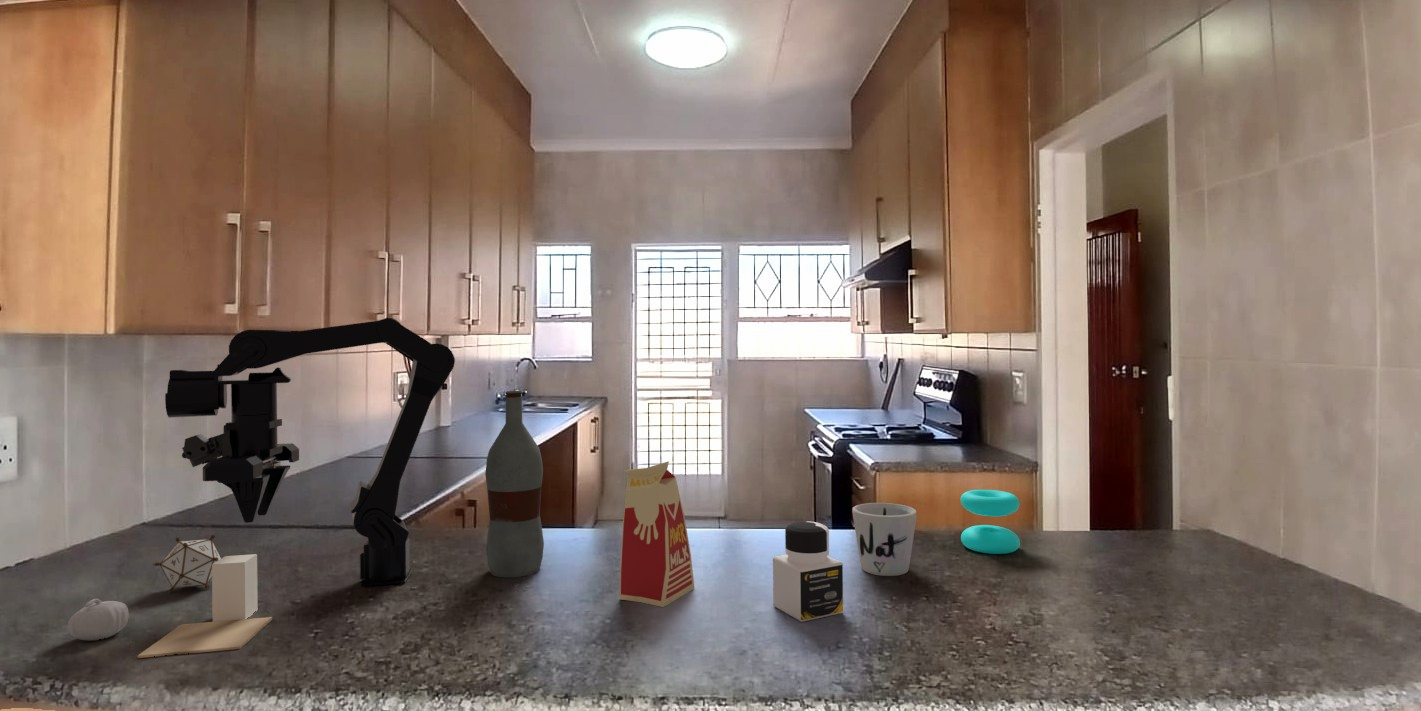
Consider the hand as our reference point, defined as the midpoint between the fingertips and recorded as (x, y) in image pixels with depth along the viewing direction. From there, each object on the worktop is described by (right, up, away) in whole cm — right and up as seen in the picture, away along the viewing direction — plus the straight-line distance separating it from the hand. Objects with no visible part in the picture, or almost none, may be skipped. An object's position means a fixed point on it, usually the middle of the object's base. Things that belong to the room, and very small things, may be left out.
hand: (255, 518), depth 104 cm
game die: (-13, -12, +5) cm, 19 cm away
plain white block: (+2, -12, -7) cm, 14 cm away
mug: (+98, -11, +13) cm, 99 cm away
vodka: (+35, -12, +13) cm, 39 cm away
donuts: (+119, -11, +23) cm, 122 cm away
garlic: (-11, -12, -14) cm, 22 cm away
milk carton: (+59, -12, +1) cm, 60 cm away
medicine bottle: (+81, -11, -7) cm, 83 cm away
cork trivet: (+3, -12, -14) cm, 19 cm away
